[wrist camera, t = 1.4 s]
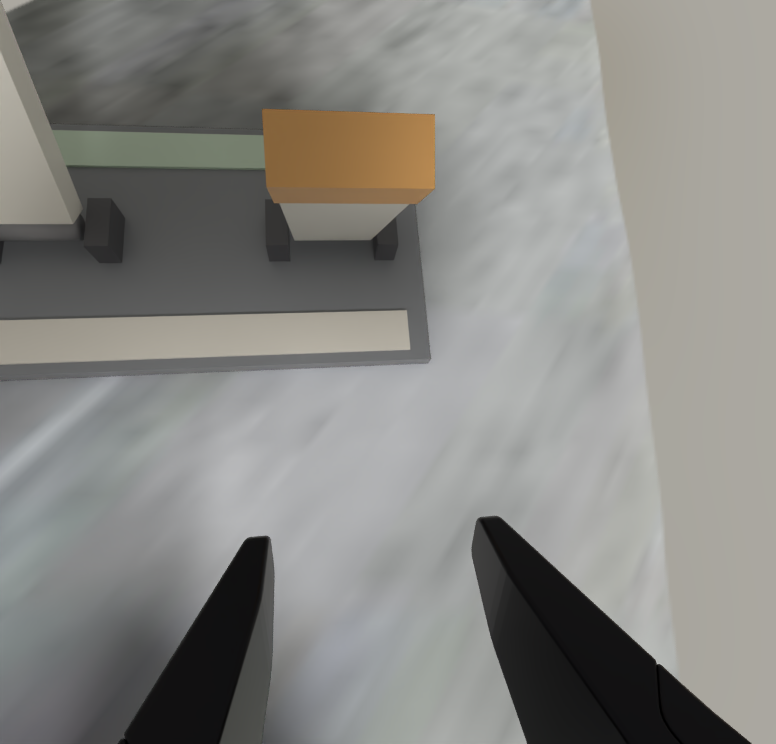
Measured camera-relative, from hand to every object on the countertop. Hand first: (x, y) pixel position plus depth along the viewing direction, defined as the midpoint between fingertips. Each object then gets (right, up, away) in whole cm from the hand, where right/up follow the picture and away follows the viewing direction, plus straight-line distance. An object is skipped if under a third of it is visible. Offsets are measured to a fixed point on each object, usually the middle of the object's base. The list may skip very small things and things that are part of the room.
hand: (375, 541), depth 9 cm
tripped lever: (-3, +10, +14) cm, 18 cm away
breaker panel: (-9, +9, +15) cm, 20 cm away
